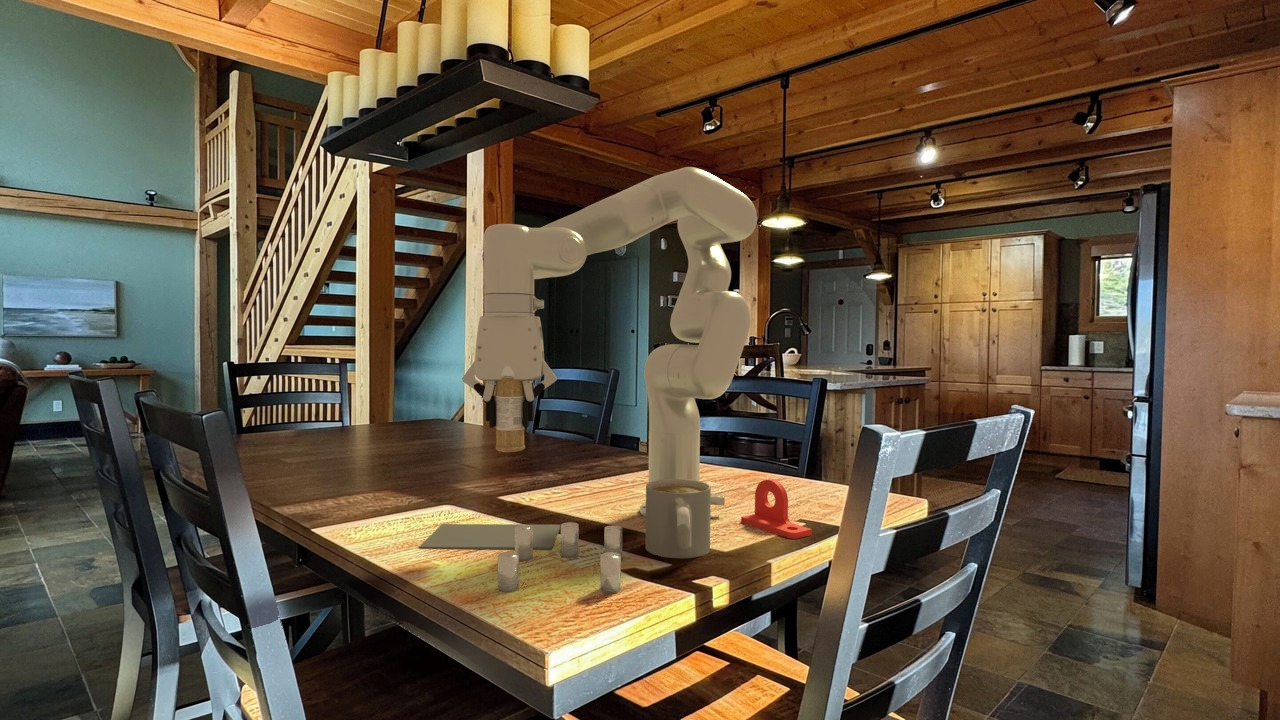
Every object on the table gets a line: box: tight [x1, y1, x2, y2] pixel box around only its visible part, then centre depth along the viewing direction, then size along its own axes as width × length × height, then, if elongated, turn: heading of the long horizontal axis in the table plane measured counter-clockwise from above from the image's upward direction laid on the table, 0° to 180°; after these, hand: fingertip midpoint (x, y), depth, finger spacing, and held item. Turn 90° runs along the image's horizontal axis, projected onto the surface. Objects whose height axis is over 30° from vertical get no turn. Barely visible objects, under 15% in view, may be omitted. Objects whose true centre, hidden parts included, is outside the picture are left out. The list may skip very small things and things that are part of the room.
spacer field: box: [497, 521, 623, 594], centre depth 90 cm, size 16×16×5 cm
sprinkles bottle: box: [494, 366, 526, 453], centre depth 100 cm, size 5×5×14 cm
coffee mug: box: [645, 479, 712, 559], centre depth 99 cm, size 13×10×10 cm
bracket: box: [740, 478, 813, 540], centre depth 113 cm, size 12×4×8 cm, turn 36°
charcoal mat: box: [418, 523, 561, 551], centre depth 105 cm, size 20×12×1 cm, turn 91°
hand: (510, 425), depth 101 cm, fingers closed on sprinkles bottle, 4 cm apart
